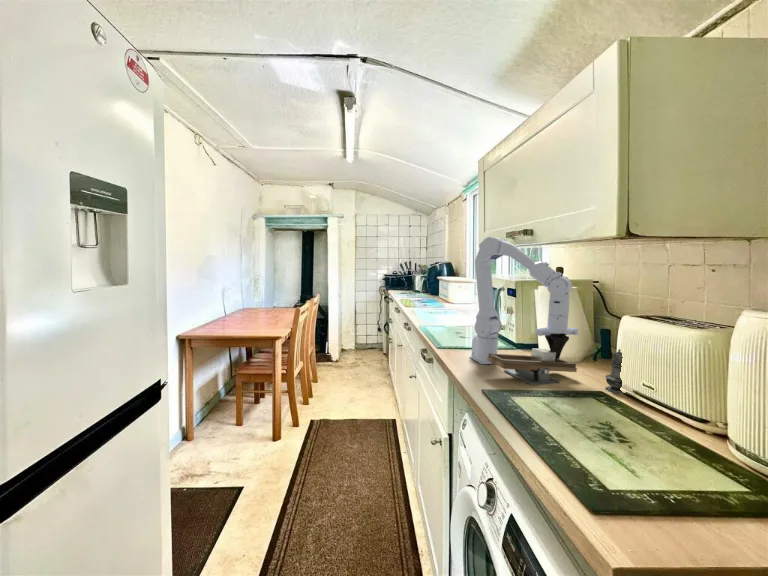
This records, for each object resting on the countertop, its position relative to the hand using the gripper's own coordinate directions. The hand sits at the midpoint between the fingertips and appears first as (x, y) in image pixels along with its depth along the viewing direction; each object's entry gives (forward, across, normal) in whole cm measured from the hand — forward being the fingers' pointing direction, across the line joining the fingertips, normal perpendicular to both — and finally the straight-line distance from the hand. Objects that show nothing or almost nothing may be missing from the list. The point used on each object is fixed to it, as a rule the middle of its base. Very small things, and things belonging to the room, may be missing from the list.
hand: (555, 357), depth 115 cm
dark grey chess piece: (+6, +8, -15) cm, 18 cm away
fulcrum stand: (+6, -9, 0) cm, 11 cm away
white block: (+2, -5, 0) cm, 5 cm away
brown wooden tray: (+2, -9, 0) cm, 9 cm away
